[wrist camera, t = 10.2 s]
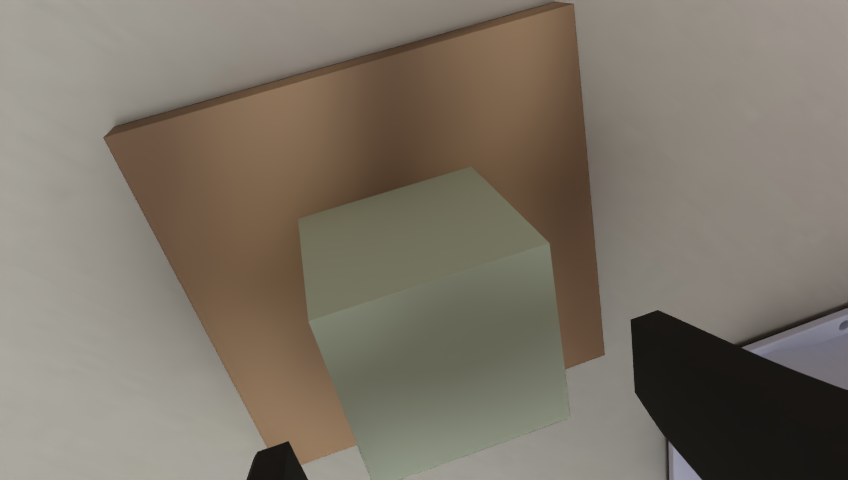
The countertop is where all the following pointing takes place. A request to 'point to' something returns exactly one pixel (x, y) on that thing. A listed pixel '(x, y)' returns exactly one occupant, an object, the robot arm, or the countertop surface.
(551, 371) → the sage cube
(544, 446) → the countertop surface
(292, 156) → the walnut pad
